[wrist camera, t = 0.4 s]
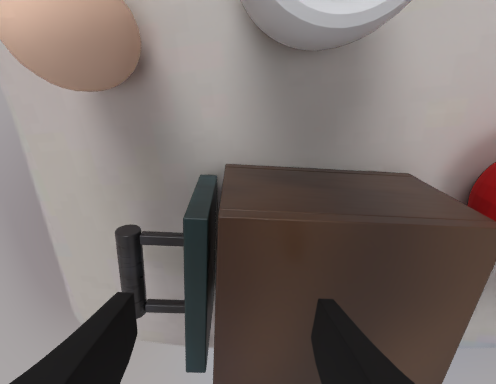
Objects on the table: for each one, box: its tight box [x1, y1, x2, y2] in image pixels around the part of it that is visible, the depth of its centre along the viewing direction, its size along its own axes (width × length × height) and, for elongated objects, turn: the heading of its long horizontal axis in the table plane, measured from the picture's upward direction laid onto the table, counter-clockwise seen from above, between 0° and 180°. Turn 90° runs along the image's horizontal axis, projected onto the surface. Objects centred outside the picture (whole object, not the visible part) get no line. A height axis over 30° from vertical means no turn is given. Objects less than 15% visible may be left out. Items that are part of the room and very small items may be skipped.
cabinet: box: [213, 164, 496, 384], centre depth 19 cm, size 14×12×9 cm
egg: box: [0, 0, 141, 92], centre depth 14 cm, size 5×5×8 cm
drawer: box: [115, 175, 217, 373], centre depth 19 cm, size 17×10×7 cm, turn 86°
